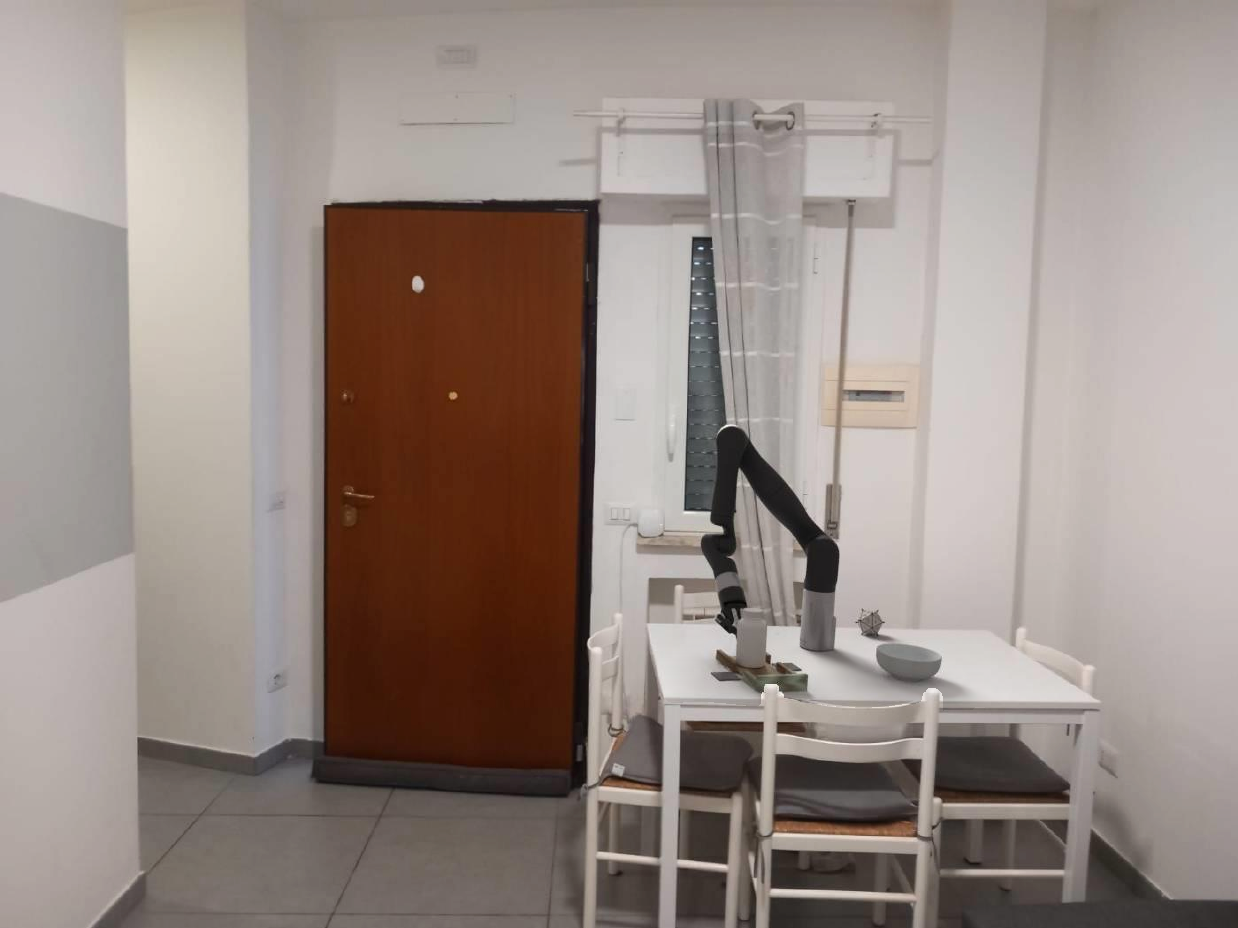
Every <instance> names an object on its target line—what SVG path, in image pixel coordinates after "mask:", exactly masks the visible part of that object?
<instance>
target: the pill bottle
mask: <svg viewBox="0 0 1238 928" xmlns="http://www.w3.org/2000/svg"><path fill="white" fill-rule="evenodd" d="M763 615H764V610H763V609H761V608H757V607H748V608H744V609H743V617H744V618H742V619H740V620H739V621H738V625H737V640H736V649H735V650H736V651H735V656H736V662H737V663H738V665H740V666H742V667H747V668H760V667H763V666H764V665H765V660H766V652H767V637H768V624H767V622H766V621H765V620H764V618H763Z"/></svg>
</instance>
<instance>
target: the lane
mask: <svg viewBox="0 0 1238 928" xmlns="http://www.w3.org/2000/svg"><path fill="white" fill-rule="evenodd" d="M715 654H716V655H715V659H716V660H717V661H718V662H720V663H721V664H722V665H724V666H725V667H726V668H727V669H728V670H730V671H711V672H710V674H711V675H712V676H713V677H714V678H715V679H716V680H718V681H720V682H723V681H741V680H742V681H743V682H744V683H745V684H746V685H747V686H749V687H750V688H751V689H753V690H754V691H755V692H757V693H760V694H761V693H765V692H764V686H765V684H777V685H778V686H779V692H778V693H784V692H785V693H787V692H803V691H804V692H807V691H808V684H809V683H808V682H809V674H808V673H797V671H802V668H800V667H798V666H797V665H796V664H795V663H793V662H781V661H776V662H771V661H772V654H770V653H769V652H767V651H766V660H765V665H764V666H763V667H760V668H747V667H742V666H740V665H738V663H737V662H736V655H728V654H727V653H725V651H723V650H722V649H716V653H715ZM736 673H737V674H738V675H737V674H736ZM739 675H740V676H741V677H742V678H741V677H739Z"/></svg>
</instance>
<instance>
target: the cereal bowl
mask: <svg viewBox="0 0 1238 928" xmlns="http://www.w3.org/2000/svg"><path fill="white" fill-rule="evenodd" d="M875 657H876V658H875V659H876V662H877V664H878V666H879V667H880V668H881V669H882V670H884V671H885V672H886V673H888V674H889V675H891V677H892V678H894V679H897V680H900V681H904V682H912V683H913V682H920V681H923V680H926V679H930V678H932V677H934V676H935V675H937V674H938V672H940V670H941V667H942V666H941V665H942V659H943V658H942V655H941V654H940V653H939V652H936V651H934V650H933V649H930V648H926V647H923V646H918V645H914V644H913V645H912V644H907V643H898V642H897V643H895V642H893V643H892V642H889V643H881V644H879V645H877V646H876V652H875Z"/></svg>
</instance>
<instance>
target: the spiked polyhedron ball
mask: <svg viewBox="0 0 1238 928" xmlns="http://www.w3.org/2000/svg"><path fill="white" fill-rule="evenodd" d="M878 612H879V609H877V610H876V611H875V610H872V611H871V610H864V608H861V614H860V616H859V617H858V619H857V621H854V623H855V624H857V625H858V626H859V628H860V631H861V634H860V635H861V636H863V635H864V634H867V635H868V634H869V635H870V634H871V635H876V636H877V637H879V634H878V633H879V631H880V629H881V627H882V625H883V624H885V623H886V621H883V620H882V617H881V616H880V615H879V613H878Z"/></svg>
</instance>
